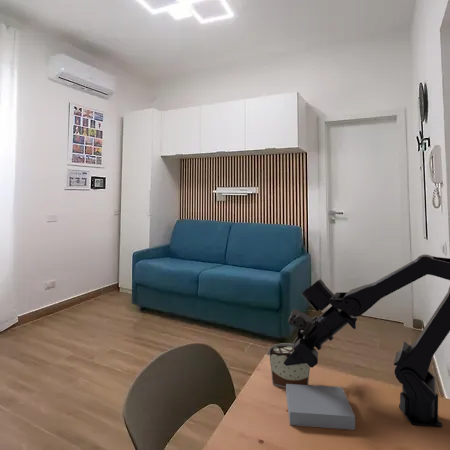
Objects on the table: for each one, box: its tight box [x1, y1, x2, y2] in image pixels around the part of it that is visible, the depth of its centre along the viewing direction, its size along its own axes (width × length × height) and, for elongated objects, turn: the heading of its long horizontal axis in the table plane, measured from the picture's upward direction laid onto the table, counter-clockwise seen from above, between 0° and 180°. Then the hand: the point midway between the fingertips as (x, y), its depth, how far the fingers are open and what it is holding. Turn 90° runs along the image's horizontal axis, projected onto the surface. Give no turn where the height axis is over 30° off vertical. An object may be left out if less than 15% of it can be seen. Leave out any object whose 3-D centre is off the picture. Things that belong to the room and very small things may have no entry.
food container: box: [267, 342, 311, 389], centre depth 83 cm, size 12×6×10 cm, turn 67°
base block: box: [285, 384, 356, 431], centre depth 71 cm, size 14×11×3 cm
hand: (286, 358), depth 83 cm, fingers closed on food container, 6 cm apart
